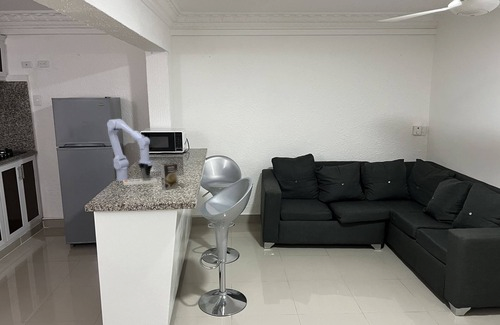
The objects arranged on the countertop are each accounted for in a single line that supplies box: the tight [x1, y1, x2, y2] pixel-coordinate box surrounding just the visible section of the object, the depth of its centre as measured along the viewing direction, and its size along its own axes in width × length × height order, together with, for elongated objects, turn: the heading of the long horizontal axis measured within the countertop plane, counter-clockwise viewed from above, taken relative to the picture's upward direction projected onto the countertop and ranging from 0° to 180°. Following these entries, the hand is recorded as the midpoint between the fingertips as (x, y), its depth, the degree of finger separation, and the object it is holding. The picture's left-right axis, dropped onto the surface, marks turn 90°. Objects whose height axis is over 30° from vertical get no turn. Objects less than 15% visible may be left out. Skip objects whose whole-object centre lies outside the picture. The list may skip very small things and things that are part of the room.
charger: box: [140, 167, 151, 179], centre depth 260 cm, size 5×5×7 cm
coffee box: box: [160, 162, 179, 191], centre depth 248 cm, size 9×6×16 cm
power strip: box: [122, 177, 158, 186], centre depth 260 cm, size 9×22×3 cm, turn 112°
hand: (145, 174), depth 260 cm, fingers closed on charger, 6 cm apart
